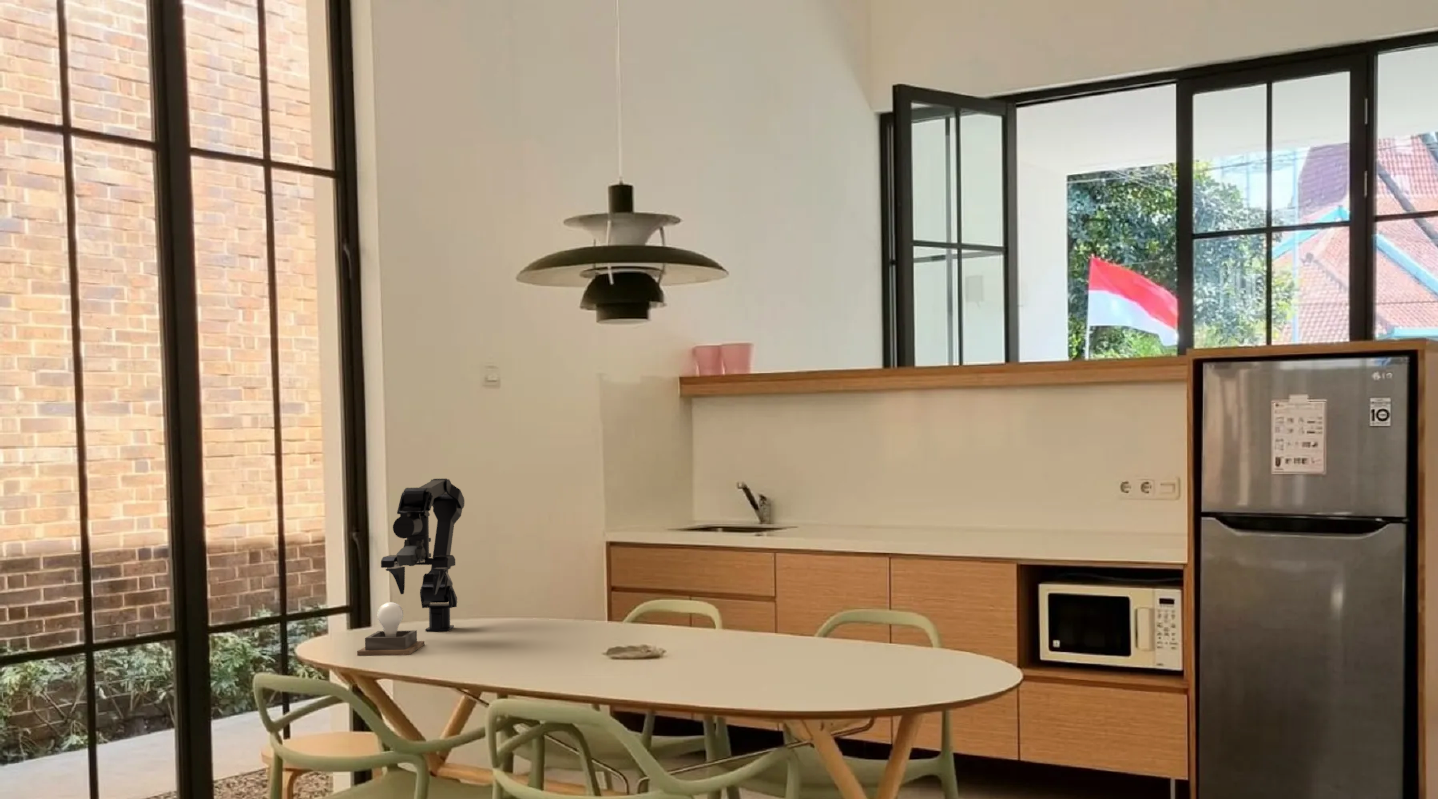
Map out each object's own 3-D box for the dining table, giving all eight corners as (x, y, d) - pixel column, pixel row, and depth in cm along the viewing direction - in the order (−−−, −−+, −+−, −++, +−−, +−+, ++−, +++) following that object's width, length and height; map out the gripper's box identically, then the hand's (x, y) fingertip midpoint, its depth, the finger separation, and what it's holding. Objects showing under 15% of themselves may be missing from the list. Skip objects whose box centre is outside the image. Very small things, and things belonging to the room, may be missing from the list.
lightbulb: (387, 649, 296) (386, 604, 296) (372, 646, 300) (371, 602, 300) (409, 645, 301) (408, 601, 301) (394, 642, 305) (393, 599, 305)
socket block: (374, 645, 307) (374, 630, 307) (424, 644, 306) (424, 629, 307) (357, 655, 294) (357, 639, 294) (409, 654, 294) (409, 638, 294)
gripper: (370, 538, 308) (371, 598, 308) (438, 537, 305) (439, 598, 305) (389, 534, 319) (390, 592, 319) (455, 533, 316) (456, 592, 316)
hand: (418, 594), depth 314 cm, fingers open, 9 cm apart
